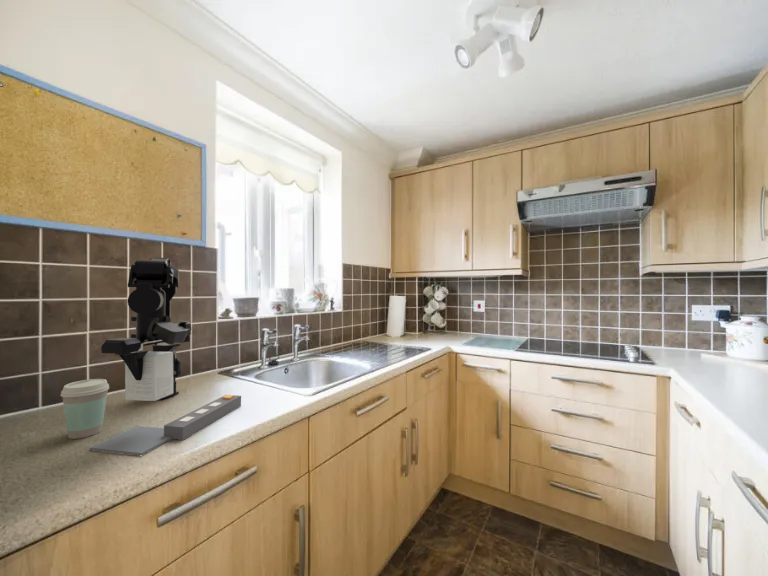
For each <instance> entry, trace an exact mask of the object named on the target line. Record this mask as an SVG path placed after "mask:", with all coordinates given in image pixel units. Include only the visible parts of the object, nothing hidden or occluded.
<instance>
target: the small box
mask: <svg viewBox="0 0 768 576" xmlns="http://www.w3.org/2000/svg"><path fill="white" fill-rule="evenodd" d="M147 351H148V352H147V354H146V355H145V356H144V357H143V370H142V378H141V380H135V378H134V376H133V375H132V373H131V371H130V370H129V368H128V366H127V365H126V363H125V362H124V368H125V369H124V372H125V373H124V374H125V377H124V379H125V380H124V381H125V384H124V386H125V388H124V390H125V393H124V395H125V398H124V399H125V400H126V401H147V402H156V401H159V400H160V399H161V398H163V397H166V396H168V395H171V394H173V352H155V351H153V350H150V351H149V350H147Z"/></svg>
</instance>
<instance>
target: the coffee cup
mask: <svg viewBox="0 0 768 576" xmlns="http://www.w3.org/2000/svg"><path fill="white" fill-rule="evenodd" d="M109 389H110V384H109V383H108V381H107V379H104V378H91V379H81V380H78V381H73V382H70V383H67V384H65V385H64V386H63V388H62V390H61V391H60V397H62V404H63V411H64V415H65V416H64V417H65V418H64V419H65V424H66V431H67V432H66V433H67V437H68V439H73V440H76V439H84V438H89V437H91V435H92V436H94V435H96V434H99V433H100V432H101V431H102V429H103V422H104V416H105V410H106V404H107V397H108V390H109Z"/></svg>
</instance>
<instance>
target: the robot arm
mask: <svg viewBox="0 0 768 576" xmlns="http://www.w3.org/2000/svg"><path fill="white" fill-rule="evenodd" d="M179 271H180V270H179V269H178V268H177V267H175V265H173V263H172V259H171V258H169V257H156V256H153V257H150V258H149V259H135V261H134V263H133V264H132V263H131V264H130V271H129V276H128V282H127V288H135V289H134V290H133V291H132V292H131V293H130V294H129V296H128V297H127V305H128V308H129V309H130V310H131V311H133V312H134V313H135V316H131V317H130V320H131V322H135V333H130V337H117V338H109V339H105V340H104V341H103V342H102V343H101V352H100V353H101V354H114V355H116V356H119V358H121V359H122V361H123V362H124V364H125V363H126V365H127V366H128V368H129V370H130V371H131V373H132V375H133V376H134V378H135V380H141V378H142V370H143V357H144V356H145V355H146V354H147V352H148V351H149V350H144V347H146V346H151V345H152V351H155V352H173V394H171V395H168V396H166V397H163V398H161V399H159V400H161V401H162V400H166V399H168V398H170V397H173V396H176V395H178V394H180V391H177V380H176V378H179V377H180V376H182V363H181V361H180V359H179V357H177V351H176V349H177V348H178V347H181V345H182V343H188V342H190V336H191V334H192V323H191V322H189V321H180V322H179V323H173V322H171V321H172V319H171V318H172V317H171V316H172V315H171V312H172V310H171V309H172V299H174V296H175V295H176V294H177V291H178V289H177V288H180V272H179Z"/></svg>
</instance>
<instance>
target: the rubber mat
mask: <svg viewBox="0 0 768 576" xmlns="http://www.w3.org/2000/svg"><path fill="white" fill-rule="evenodd" d="M167 441H168V442H169V441H172V439H171V437H169V436H164V427H156V426H155V427H152V426H142V425H135V426H134V427H132V428H129V429H127V430H125V431H122V432H121V433H118V434H116V435H114V436H112V437H109V438H107V439H105V440H103V441H101V442H99V443H96V444H94V445H92V446H89V448H88V451H90V450H94V451H93V452H99V451H103V452H102V453H108V452H113V453H112V454H118V453H123V454H122V455H127V454H133V455H132V456H136V455H143V454H145V453H146V452H148V451H150V450H152V449H153V450H155V449H157V448H159V447H160V445H161V446H162V445H164V444H166V443H168V442H167ZM165 442H166V443H165ZM158 446H159V447H158ZM156 447H157V448H156ZM154 448H155V449H154ZM153 450H152V451H153ZM150 452H151V451H150ZM148 453H149V452H148ZM146 454H147V453H146ZM146 454H145V455H146ZM143 456H144V455H143Z"/></svg>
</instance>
